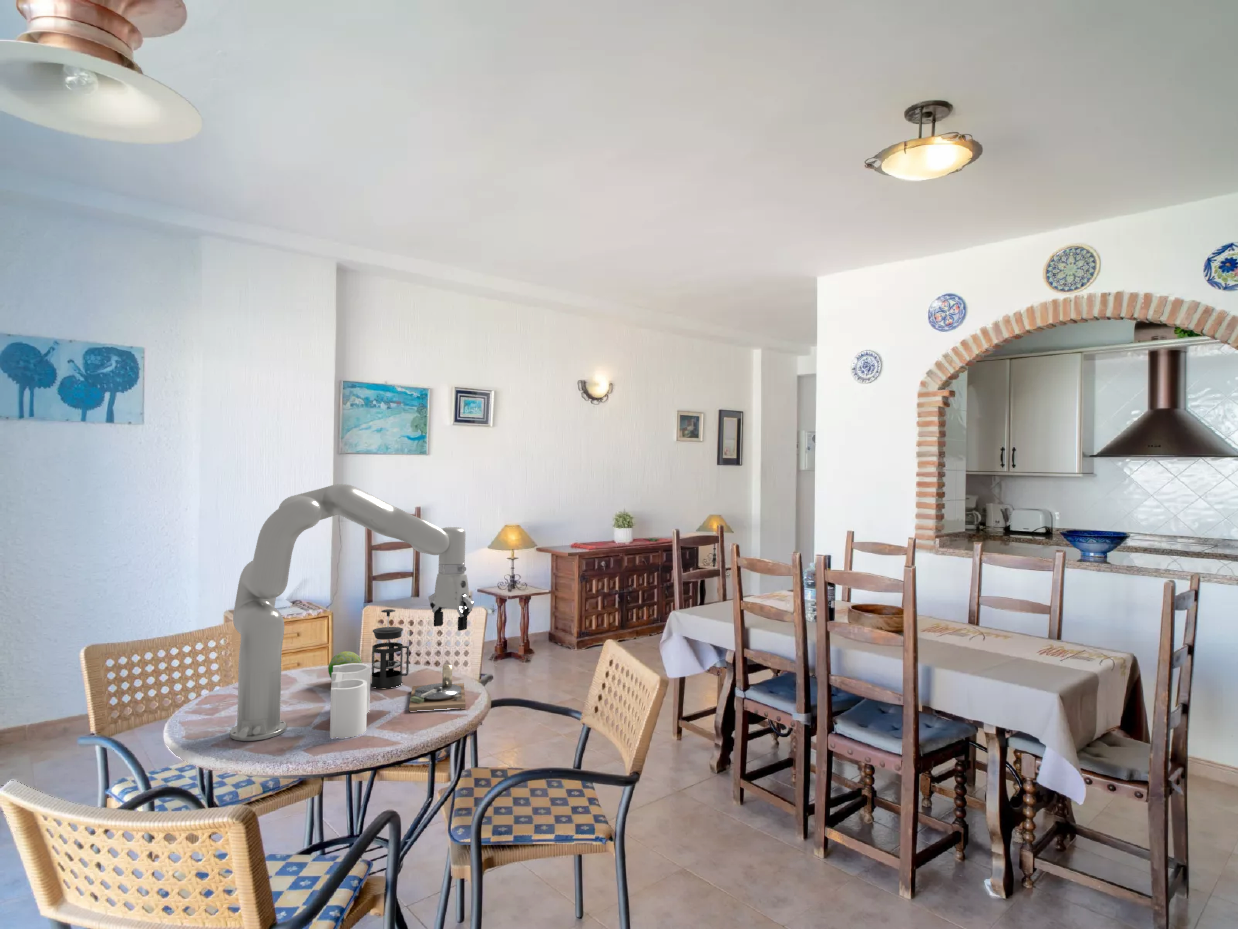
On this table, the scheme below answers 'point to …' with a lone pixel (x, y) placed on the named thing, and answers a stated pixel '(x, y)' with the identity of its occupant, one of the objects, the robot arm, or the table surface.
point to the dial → (440, 687)
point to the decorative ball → (343, 660)
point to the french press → (388, 657)
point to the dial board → (437, 701)
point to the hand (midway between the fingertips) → (450, 627)
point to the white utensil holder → (349, 699)
